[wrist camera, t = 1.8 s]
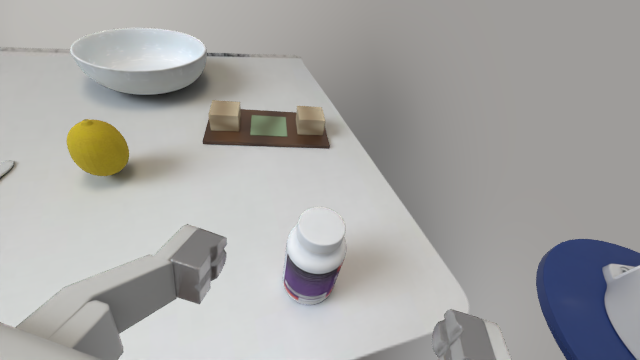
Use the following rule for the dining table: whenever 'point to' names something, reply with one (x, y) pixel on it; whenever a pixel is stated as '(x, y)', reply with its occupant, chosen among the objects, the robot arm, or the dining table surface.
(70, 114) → the dining table surface
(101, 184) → the dining table surface
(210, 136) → the word board
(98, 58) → the serving bowl
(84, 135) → the lemon
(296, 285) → the pill bottle
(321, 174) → the dining table surface
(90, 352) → the robot arm
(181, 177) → the dining table surface
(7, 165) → the fork
